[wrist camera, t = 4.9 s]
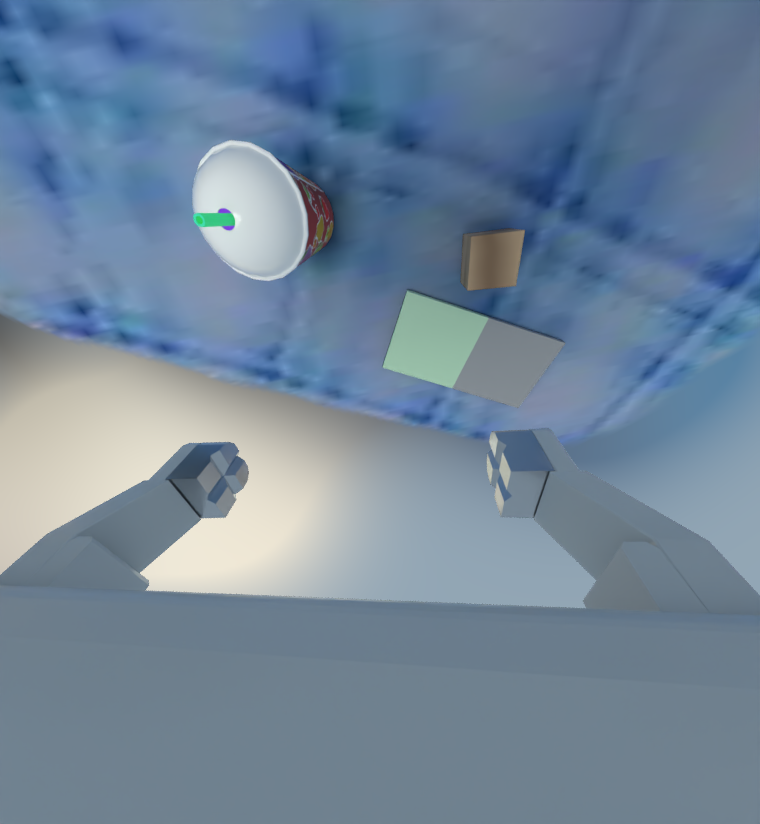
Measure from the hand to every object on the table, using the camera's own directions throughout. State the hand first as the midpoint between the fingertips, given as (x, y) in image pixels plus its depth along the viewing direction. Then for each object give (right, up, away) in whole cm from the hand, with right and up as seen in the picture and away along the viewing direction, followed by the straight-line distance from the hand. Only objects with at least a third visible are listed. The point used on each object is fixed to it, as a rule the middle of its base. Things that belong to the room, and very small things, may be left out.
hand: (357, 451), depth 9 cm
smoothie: (-8, +24, +23) cm, 34 cm away
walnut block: (+13, +20, +23) cm, 33 cm away
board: (+13, +10, +30) cm, 35 cm away
